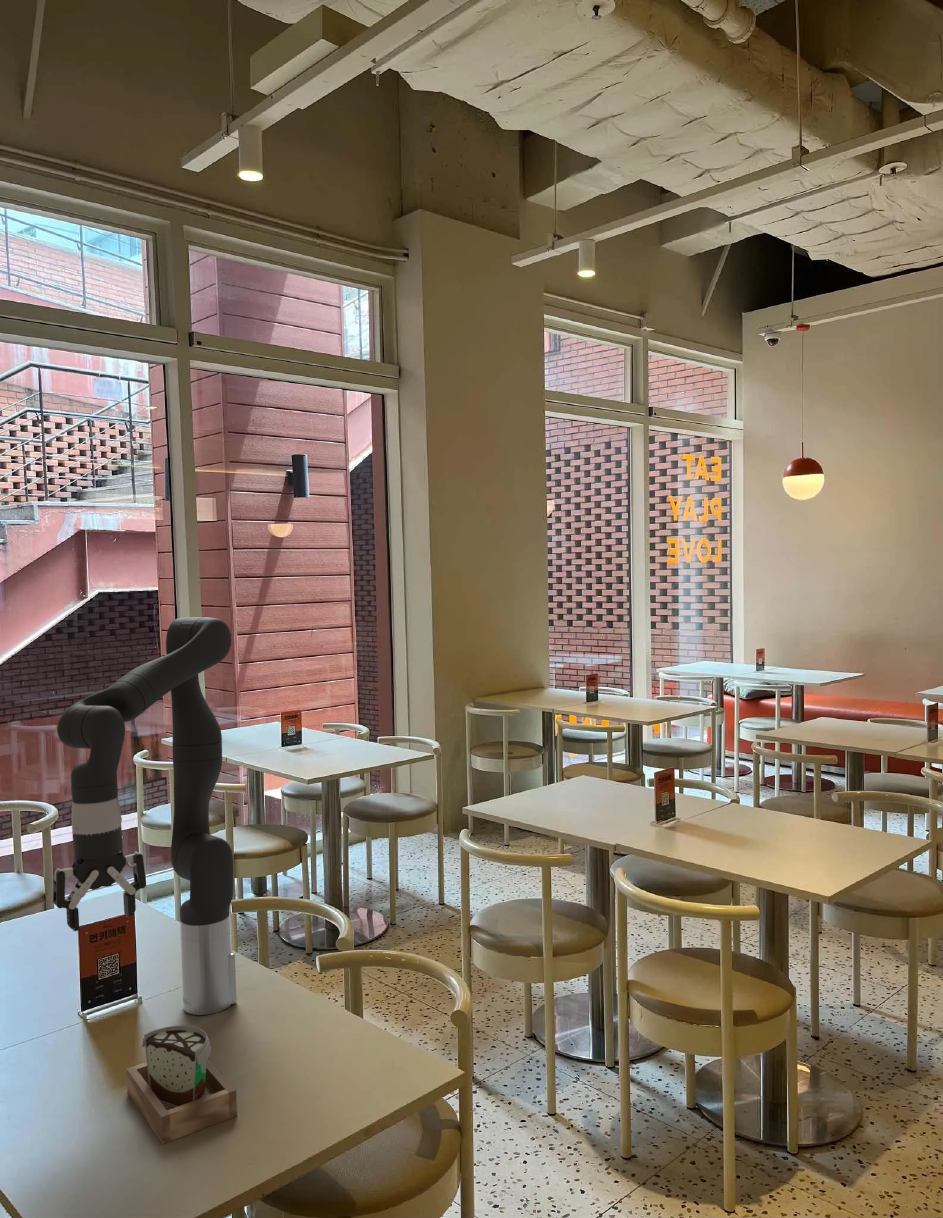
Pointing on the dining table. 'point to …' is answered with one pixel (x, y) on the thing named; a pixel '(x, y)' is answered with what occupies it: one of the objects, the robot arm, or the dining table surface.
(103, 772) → the robot arm
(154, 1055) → the food container
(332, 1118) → the dining table surface
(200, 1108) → the wooden box
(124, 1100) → the dining table surface
